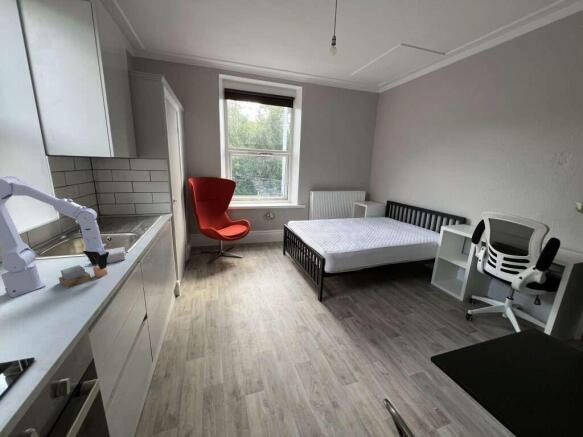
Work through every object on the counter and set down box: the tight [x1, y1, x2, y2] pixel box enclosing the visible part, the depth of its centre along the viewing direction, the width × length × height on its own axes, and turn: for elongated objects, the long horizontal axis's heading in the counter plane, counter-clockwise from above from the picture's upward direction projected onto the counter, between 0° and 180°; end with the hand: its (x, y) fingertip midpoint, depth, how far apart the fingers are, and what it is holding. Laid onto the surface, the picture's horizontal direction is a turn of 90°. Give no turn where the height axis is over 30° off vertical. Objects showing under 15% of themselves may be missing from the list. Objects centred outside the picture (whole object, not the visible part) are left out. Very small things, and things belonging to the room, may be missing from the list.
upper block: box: [60, 264, 86, 281], centre depth 101 cm, size 6×6×3 cm
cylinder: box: [92, 265, 108, 278], centre depth 106 cm, size 4×4×4 cm
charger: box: [87, 246, 126, 264], centre depth 121 cm, size 5×9×15 cm
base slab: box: [58, 271, 92, 289], centre depth 102 cm, size 8×8×3 cm
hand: (99, 266), depth 106 cm, fingers open, 7 cm apart
